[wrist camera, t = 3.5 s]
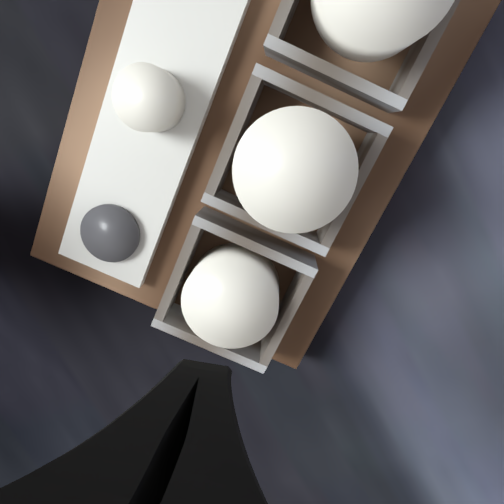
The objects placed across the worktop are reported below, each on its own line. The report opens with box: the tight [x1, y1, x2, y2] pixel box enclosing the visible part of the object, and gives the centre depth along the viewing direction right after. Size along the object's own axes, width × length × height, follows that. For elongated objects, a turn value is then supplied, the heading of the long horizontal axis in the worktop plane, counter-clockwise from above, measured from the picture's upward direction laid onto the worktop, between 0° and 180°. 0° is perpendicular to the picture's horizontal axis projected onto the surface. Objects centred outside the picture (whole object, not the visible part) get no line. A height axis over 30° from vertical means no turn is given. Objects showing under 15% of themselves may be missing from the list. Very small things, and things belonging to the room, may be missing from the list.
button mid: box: [232, 106, 359, 234], centre depth 14 cm, size 4×4×2 cm
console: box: [30, 0, 501, 374], centre depth 17 cm, size 14×18×4 cm
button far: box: [181, 243, 279, 349], centre depth 17 cm, size 4×4×2 cm
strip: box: [58, 0, 251, 288], centre depth 16 cm, size 4×16×2 cm, turn 156°
